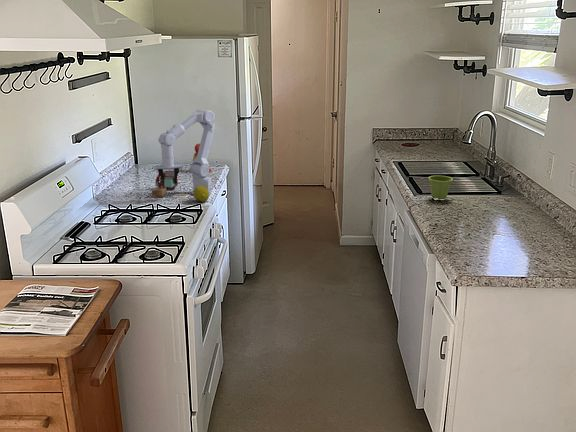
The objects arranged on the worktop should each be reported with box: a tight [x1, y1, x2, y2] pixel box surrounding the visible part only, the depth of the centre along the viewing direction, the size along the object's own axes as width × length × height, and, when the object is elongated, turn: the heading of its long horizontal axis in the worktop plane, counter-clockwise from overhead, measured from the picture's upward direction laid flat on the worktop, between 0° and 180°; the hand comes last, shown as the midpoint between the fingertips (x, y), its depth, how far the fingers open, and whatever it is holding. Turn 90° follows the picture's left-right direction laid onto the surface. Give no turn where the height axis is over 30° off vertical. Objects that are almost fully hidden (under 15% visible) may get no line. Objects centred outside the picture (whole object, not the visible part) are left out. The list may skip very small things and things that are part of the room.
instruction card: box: [171, 193, 191, 199], centre depth 298 cm, size 8×6×1 cm
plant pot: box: [428, 175, 453, 199], centre depth 289 cm, size 12×12×11 cm
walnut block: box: [151, 187, 168, 199], centre depth 298 cm, size 6×6×4 cm
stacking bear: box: [192, 142, 213, 173], centre depth 352 cm, size 11×10×18 cm
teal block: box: [164, 177, 175, 188], centre depth 290 cm, size 4×4×4 cm
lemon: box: [193, 186, 210, 203], centre depth 287 cm, size 11×8×8 cm
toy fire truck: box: [154, 170, 179, 191], centre depth 312 cm, size 7×12×10 cm, turn 91°
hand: (169, 183), depth 290 cm, fingers closed on teal block, 5 cm apart
